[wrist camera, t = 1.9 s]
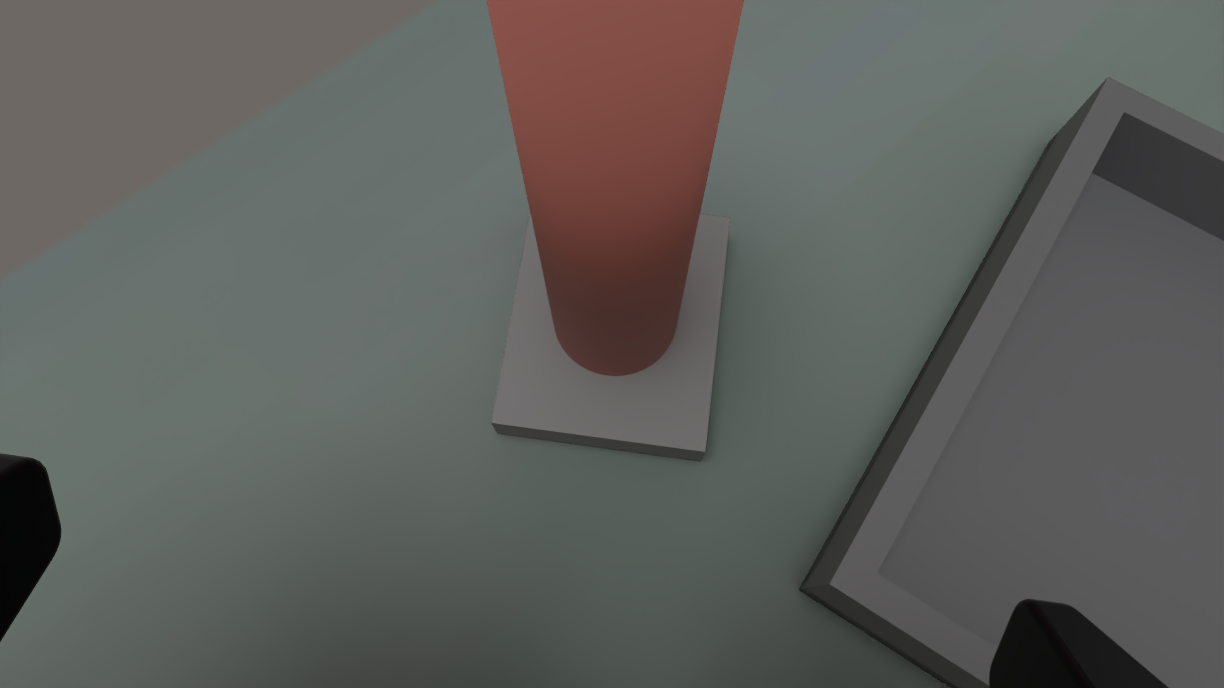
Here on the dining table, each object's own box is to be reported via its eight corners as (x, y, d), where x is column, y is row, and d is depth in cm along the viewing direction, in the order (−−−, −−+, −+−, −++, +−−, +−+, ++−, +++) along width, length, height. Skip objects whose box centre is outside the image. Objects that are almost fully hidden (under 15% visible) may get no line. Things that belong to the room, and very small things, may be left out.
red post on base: (700, 461, 21) (853, 170, 8) (497, 433, 21) (292, 101, 8) (724, 237, 23) (882, -321, 9) (537, 214, 23) (428, -364, 10)
